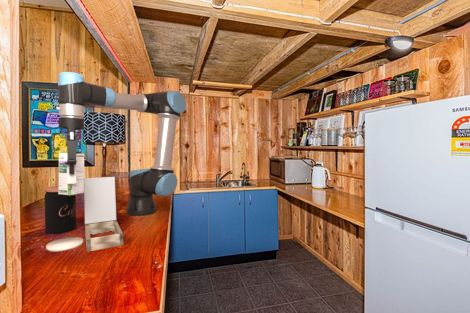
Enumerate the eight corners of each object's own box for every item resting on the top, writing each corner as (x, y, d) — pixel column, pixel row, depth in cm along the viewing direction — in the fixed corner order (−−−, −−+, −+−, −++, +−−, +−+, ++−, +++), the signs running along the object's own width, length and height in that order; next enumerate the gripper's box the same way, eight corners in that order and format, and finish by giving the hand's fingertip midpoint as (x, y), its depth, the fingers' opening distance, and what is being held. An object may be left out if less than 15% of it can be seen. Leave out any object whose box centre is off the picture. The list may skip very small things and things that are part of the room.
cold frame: (116, 229, 106) (116, 220, 106) (123, 244, 91) (123, 234, 91) (85, 234, 100) (84, 224, 100) (86, 251, 85) (86, 240, 85)
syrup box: (57, 194, 88) (57, 152, 87) (73, 191, 94) (73, 152, 93) (69, 195, 86) (69, 153, 86) (84, 192, 92) (84, 153, 91)
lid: (116, 219, 106) (115, 219, 107) (114, 176, 109) (114, 177, 111) (84, 224, 100) (84, 224, 101) (84, 178, 103) (84, 178, 104)
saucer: (82, 237, 98) (82, 235, 98) (83, 247, 88) (83, 245, 88) (47, 242, 92) (47, 240, 92) (44, 254, 82) (44, 251, 82)
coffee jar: (60, 235, 99) (59, 190, 98) (38, 233, 101) (37, 188, 100) (82, 227, 109) (81, 186, 108) (61, 225, 111) (60, 184, 110)
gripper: (59, 119, 95) (59, 178, 96) (57, 114, 78) (57, 186, 79) (82, 120, 99) (82, 178, 100) (85, 116, 82) (85, 185, 83)
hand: (71, 181), depth 90 cm, fingers closed on syrup box, 8 cm apart
